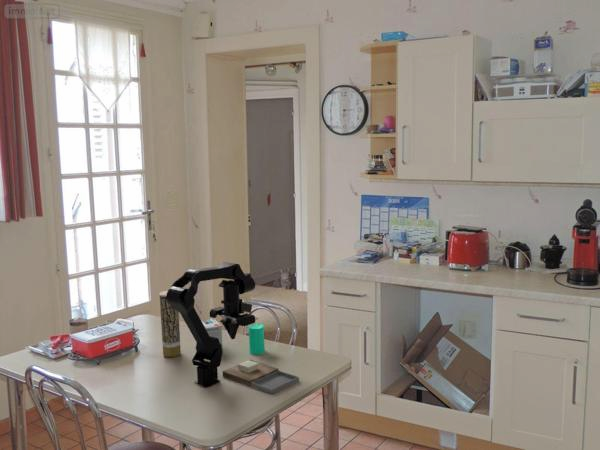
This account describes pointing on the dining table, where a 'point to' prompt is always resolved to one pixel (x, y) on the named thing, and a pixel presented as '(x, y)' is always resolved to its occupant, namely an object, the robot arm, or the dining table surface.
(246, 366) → the tile
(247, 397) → the dining table surface
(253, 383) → the tray
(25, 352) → the dining table surface
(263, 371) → the walnut board
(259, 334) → the candle
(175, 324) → the brown bark cylinder
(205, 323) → the light bulb box
